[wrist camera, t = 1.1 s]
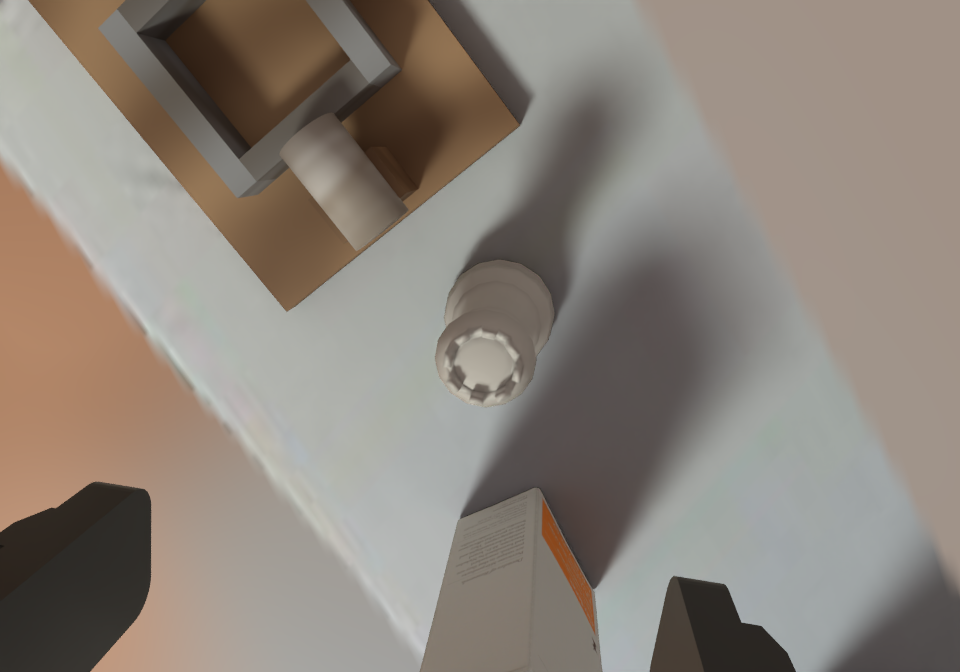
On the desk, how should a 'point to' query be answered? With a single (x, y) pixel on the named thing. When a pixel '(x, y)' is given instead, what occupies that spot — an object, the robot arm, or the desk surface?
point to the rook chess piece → (493, 332)
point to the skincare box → (513, 596)
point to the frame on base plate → (292, 115)
